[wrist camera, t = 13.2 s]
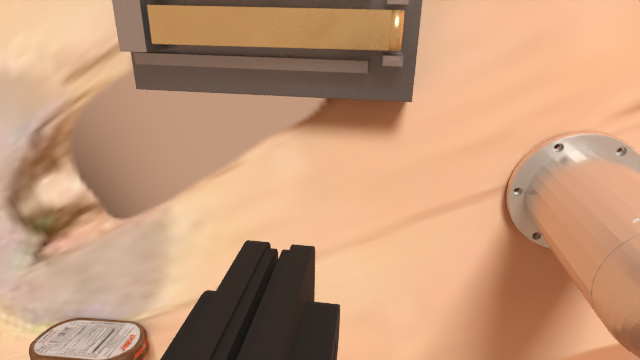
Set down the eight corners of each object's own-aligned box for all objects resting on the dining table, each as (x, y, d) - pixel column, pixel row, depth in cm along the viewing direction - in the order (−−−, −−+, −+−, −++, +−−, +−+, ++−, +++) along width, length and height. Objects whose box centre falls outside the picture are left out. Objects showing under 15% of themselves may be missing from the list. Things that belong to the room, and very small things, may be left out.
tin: (63, 329, 60) (16, 376, 52) (57, 311, 59) (8, 357, 51) (161, 336, 58) (126, 387, 50) (156, 318, 56) (121, 367, 49)
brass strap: (404, 10, 33) (405, 10, 32) (400, 49, 34) (401, 51, 33) (152, 4, 34) (145, 4, 33) (157, 42, 36) (150, 43, 34)
